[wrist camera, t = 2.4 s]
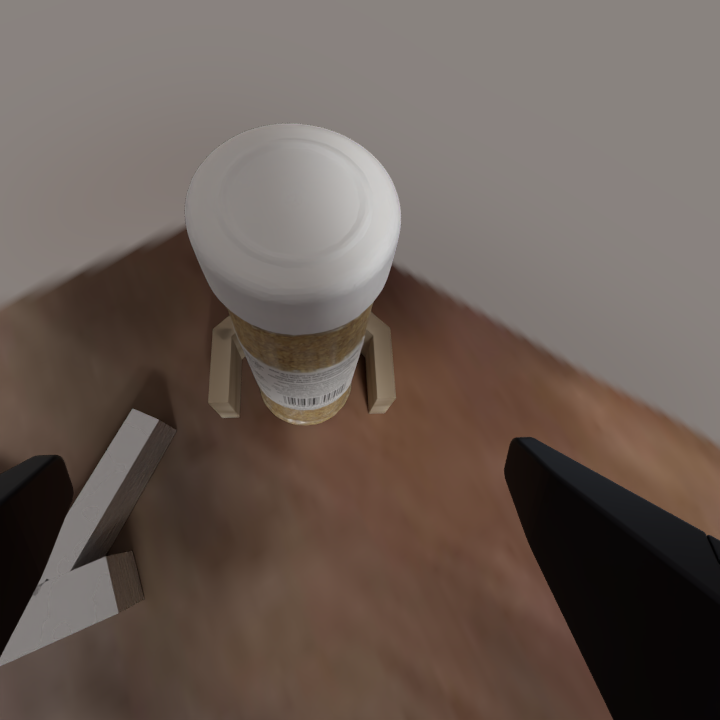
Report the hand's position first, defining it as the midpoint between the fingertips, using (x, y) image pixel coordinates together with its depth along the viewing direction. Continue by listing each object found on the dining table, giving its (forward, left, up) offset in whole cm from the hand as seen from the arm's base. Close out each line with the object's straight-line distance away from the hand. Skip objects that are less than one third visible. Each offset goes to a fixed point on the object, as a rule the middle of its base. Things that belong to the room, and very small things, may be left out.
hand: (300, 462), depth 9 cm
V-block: (-9, +5, -12) cm, 15 cm away
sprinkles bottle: (+3, +4, -12) cm, 13 cm away
